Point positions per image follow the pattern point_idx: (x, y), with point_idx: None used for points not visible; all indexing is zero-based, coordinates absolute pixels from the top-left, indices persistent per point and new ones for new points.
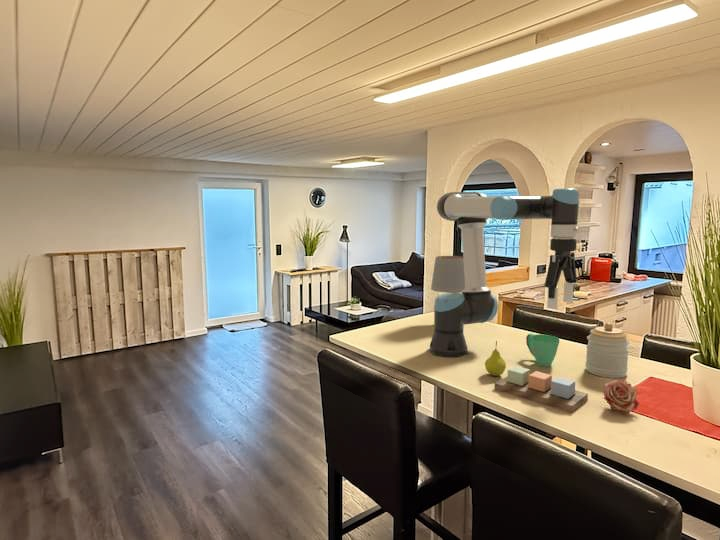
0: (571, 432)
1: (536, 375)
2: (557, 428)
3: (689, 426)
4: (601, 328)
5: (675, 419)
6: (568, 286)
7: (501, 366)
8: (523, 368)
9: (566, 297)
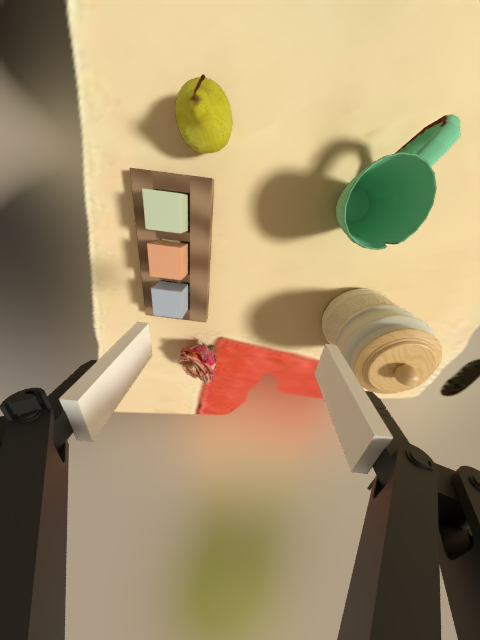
0: (98, 321)
1: (157, 256)
2: (93, 307)
3: (209, 401)
4: (409, 356)
5: (218, 393)
6: (350, 431)
7: (191, 146)
8: (176, 218)
9: (328, 370)
